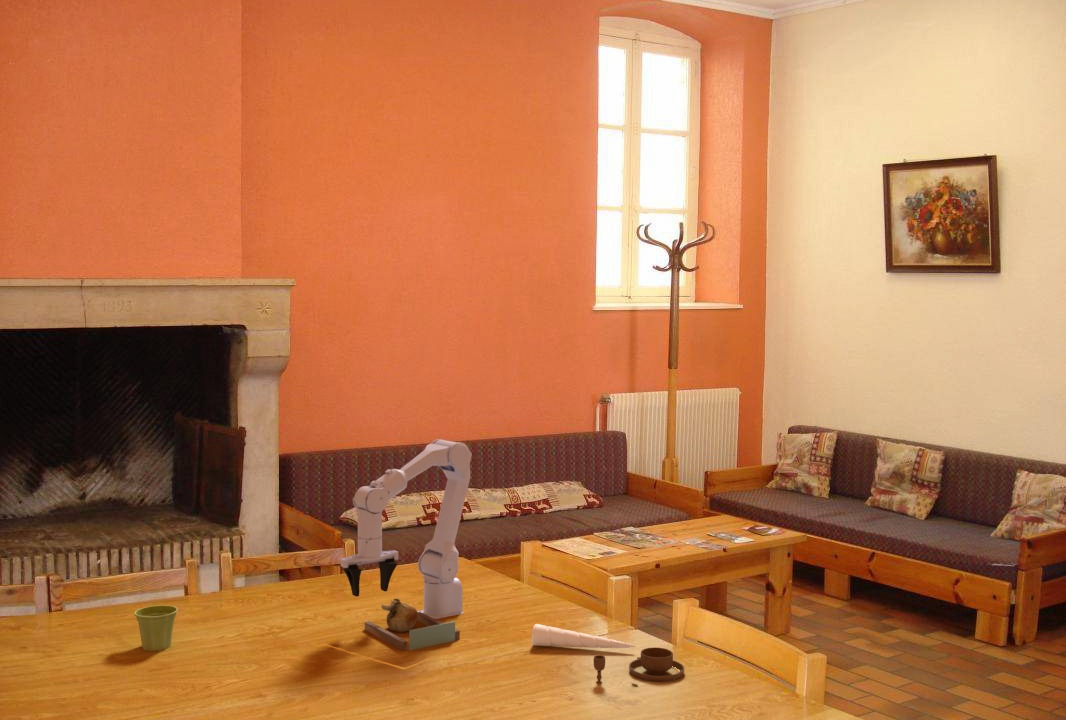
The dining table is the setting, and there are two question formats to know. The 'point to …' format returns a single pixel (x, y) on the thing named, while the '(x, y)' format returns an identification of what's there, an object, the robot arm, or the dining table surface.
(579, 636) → the unicorn horn
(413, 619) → the onion
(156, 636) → the plant pot
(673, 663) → the place setting
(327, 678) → the dining table surface
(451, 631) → the panel
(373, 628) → the cart frame
